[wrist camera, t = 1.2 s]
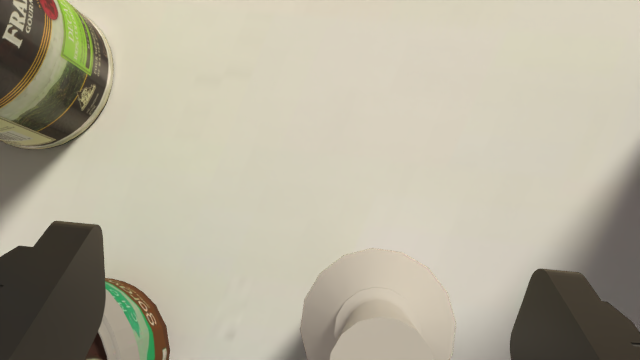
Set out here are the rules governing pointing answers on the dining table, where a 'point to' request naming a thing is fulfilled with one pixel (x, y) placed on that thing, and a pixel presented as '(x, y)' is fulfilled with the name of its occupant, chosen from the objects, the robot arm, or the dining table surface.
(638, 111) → the dining table surface
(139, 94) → the dining table surface
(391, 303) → the bottle
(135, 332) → the food container
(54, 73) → the coffee can
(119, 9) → the dining table surface
